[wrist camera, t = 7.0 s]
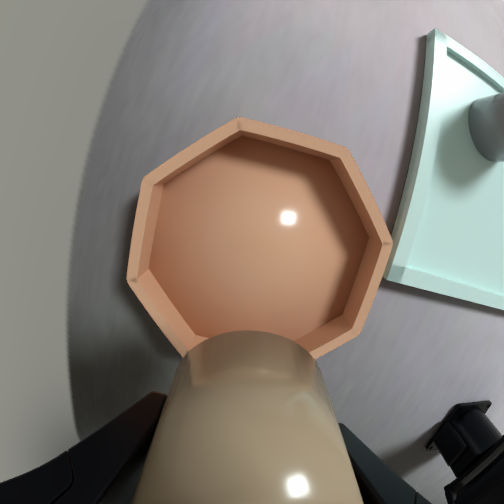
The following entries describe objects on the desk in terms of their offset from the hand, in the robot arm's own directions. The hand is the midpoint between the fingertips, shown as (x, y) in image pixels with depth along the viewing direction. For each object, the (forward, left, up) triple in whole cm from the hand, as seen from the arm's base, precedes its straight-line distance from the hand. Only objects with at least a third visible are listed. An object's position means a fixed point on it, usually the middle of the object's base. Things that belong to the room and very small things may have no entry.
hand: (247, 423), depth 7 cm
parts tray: (-15, -12, -10) cm, 22 cm away
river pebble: (0, 0, -1) cm, 1 cm away
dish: (0, -3, -10) cm, 11 cm away
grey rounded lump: (-13, -15, -10) cm, 22 cm away
